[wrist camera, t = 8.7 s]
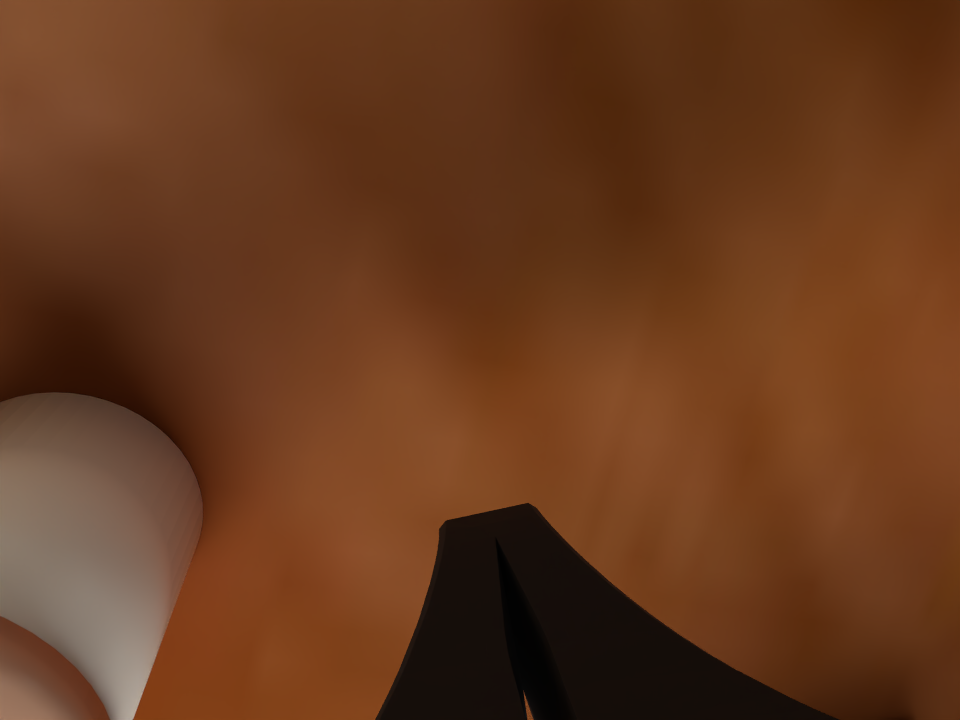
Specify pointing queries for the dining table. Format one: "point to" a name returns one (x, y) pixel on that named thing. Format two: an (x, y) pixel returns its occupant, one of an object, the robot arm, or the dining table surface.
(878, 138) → the dining table surface
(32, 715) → the cream jar
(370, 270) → the dining table surface
